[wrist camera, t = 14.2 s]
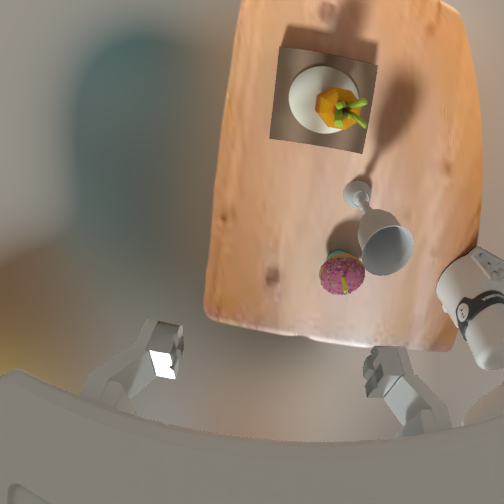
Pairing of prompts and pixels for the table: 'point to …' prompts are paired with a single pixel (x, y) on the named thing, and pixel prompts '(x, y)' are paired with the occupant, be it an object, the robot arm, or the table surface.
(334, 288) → the cupcake
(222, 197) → the table surface
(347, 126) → the carrot
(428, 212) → the table surface
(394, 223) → the chalice
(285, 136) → the walnut plinth
